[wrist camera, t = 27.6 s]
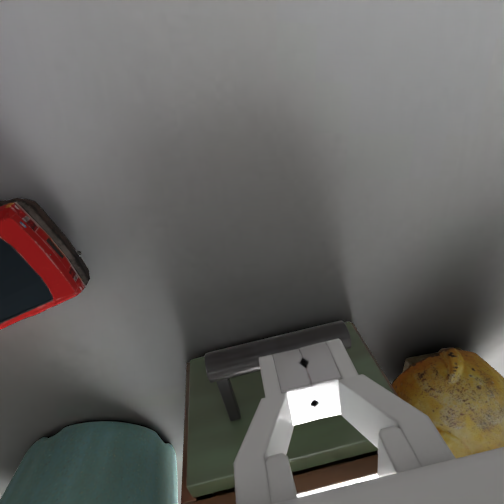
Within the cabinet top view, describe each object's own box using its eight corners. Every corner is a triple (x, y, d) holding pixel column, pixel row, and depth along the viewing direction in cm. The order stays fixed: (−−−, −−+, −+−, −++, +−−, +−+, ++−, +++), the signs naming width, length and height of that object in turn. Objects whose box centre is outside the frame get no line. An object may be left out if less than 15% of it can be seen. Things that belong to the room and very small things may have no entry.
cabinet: (186, 362, 23) (179, 524, 15) (352, 322, 23) (437, 457, 15) (228, 464, 30) (240, 610, 22) (355, 432, 31) (412, 563, 23)
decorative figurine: (372, 410, 30) (508, 674, 17) (365, 352, 25) (540, 642, 12) (472, 380, 29) (686, 620, 16) (481, 316, 25) (778, 571, 12)
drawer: (167, 304, 19) (150, 429, 12) (348, 262, 20) (426, 360, 13) (230, 460, 28) (240, 580, 22) (352, 429, 29) (399, 536, 22)
